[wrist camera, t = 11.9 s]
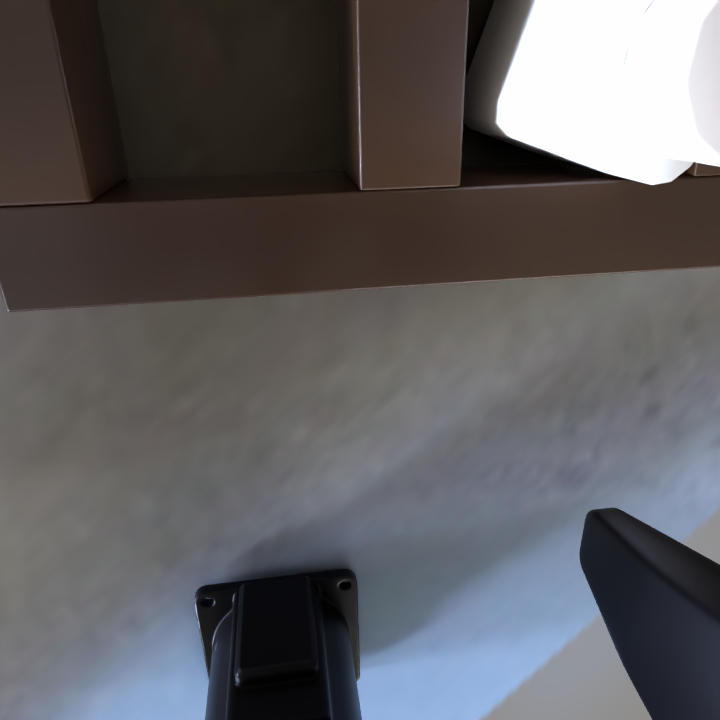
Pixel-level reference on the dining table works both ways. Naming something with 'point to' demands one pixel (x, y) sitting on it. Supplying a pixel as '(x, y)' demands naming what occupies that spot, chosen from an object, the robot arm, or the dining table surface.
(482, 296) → the dining table surface
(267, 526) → the dining table surface
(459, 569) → the dining table surface
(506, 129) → the salt shaker
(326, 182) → the stand
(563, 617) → the dining table surface
